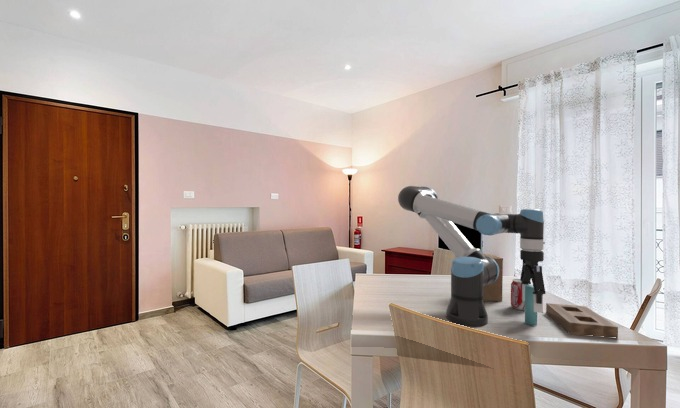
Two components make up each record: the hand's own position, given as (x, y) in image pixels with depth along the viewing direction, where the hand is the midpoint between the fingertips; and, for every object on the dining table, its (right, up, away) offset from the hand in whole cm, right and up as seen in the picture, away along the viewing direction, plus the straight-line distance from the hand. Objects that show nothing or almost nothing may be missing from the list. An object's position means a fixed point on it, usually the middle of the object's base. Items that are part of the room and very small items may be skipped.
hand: (531, 306), depth 118 cm
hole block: (+17, -7, 0) cm, 18 cm away
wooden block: (-2, -7, +32) cm, 33 cm away
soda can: (+5, -7, +17) cm, 19 cm away
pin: (0, -7, 0) cm, 7 cm away
